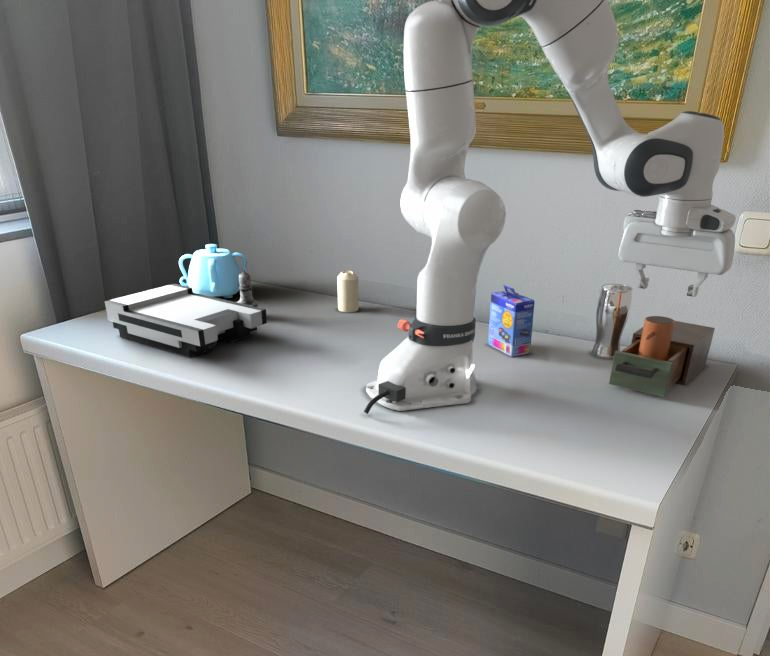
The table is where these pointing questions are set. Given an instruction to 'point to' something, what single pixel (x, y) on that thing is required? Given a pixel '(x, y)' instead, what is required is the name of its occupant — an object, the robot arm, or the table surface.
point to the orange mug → (656, 337)
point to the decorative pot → (213, 271)
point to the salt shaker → (246, 290)
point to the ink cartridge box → (511, 322)
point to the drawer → (648, 369)
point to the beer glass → (611, 318)
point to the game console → (182, 319)
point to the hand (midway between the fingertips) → (666, 291)
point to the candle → (348, 292)
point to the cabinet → (689, 346)
